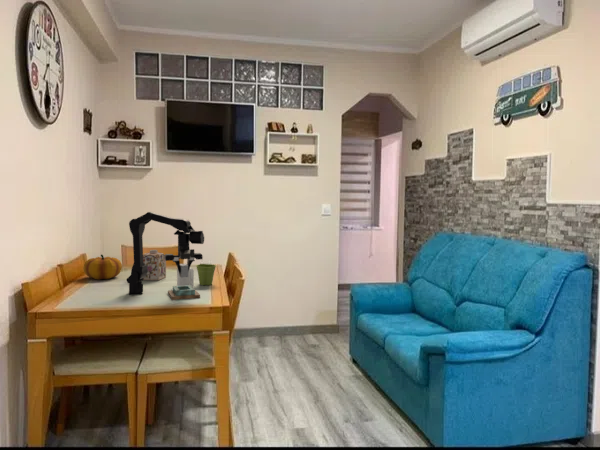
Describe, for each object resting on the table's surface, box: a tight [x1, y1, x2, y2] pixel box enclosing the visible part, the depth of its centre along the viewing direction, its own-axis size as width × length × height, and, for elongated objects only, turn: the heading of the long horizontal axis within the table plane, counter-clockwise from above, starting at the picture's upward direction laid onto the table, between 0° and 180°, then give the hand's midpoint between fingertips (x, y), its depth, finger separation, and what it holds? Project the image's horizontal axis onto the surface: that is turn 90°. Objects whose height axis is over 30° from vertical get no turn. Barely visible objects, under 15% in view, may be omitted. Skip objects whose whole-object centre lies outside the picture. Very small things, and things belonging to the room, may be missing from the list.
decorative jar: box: [143, 249, 167, 281], centre depth 281 cm, size 12×12×18 cm
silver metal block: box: [179, 263, 188, 277], centre depth 235 cm, size 4×7×6 cm, turn 23°
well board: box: [167, 285, 201, 301], centre depth 236 cm, size 14×16×4 cm
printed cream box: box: [176, 266, 195, 288], centre depth 256 cm, size 10×4×12 cm, turn 60°
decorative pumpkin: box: [82, 254, 123, 281], centre depth 281 cm, size 20×22×15 cm
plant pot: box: [195, 263, 217, 286], centre depth 266 cm, size 12×12×11 cm
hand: (183, 273), depth 235 cm, fingers closed on silver metal block, 3 cm apart
